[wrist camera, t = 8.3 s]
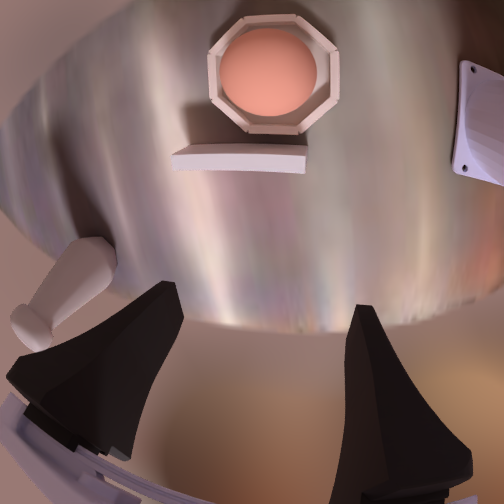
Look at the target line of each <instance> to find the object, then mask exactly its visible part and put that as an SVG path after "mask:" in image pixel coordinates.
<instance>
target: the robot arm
mask: <svg viewBox="0 0 504 504" xmlns="http://www.w3.org/2000/svg"><path fill="white" fill-rule="evenodd" d="M471 66H472V67H473V68H474V73H473V72H472V71H471ZM459 68H460V77H459V105H458V118H457V128H456V137H455V145H454V152H453V158H452V170H453V171H454V172H455V173H457V174H461V175H465V176H469V177H473V178H477V179H481V180H484V181H488V182H492V183H495V184H499V185H502V186H504V76H502V75H500V74H498V73H496V72H493V71H491V70H489V69H487V68H485V67H482V66H480V65H477V64H475V63H472V62H470V61H467V60H463V61H461V62H460V65H459ZM463 165H466V168H465V170H462V167H463ZM183 319H184V315H183V312H182V308H181V304H180V300H179V297H178V293H177V289H176V285H175V282H169V281H161V282H159V283H158V284H156V285H155V286H153V287H152V288H151V289H149V290H148V291H147V292H145V293H144V294H142V295H141V296H140V297H138V298H137V299H136V300H134V301H133V302H131V303H130V304H129V305H127V306H126V307H125V308H123V309H122V310H120V311H119V312H117V313H116V314H114V315H113V316H111V317H110V318H108V319H107V320H105V321H104V322H102V323H101V324H99V325H97V326H96V327H94V328H92V329H90V330H89V331H87V332H85V333H83V334H81V335H79V336H77V337H75V338H73V339H70V340H68V341H66V342H64V343H62V344H60V345H57V346H54V347H51V348H48V349H46V350H43V351H39V352H36V353H32V354H28V355H25V356H20V357H19V358H18V359H17V361H16V362H15V364H14V365H13V366H12V368H11V369H10V370H9V372H8V373H7V375H6V378H7V380H8V381H9V382H10V383H11V384H12V385H13V386H14V387H15V388H16V389H17V390H18V391H19V392H20V393H21V394H22V395H23V396H24V397H25V398H26V399H27V400H28V401H29V402H30V403H29V405H28V406H27V405H25V404H24V403H23V402H22V401H21V400H20V399H18V398H17V397H16V396H15V395H14V394H13V393H11V392H10V393H9V394H8V396H7V398H6V399H5V401H4V402H3V404H2V405H1V407H0V442H1V443H2V445H3V446H4V447H5V448H6V450H7V451H8V452H9V453H10V455H11V456H12V457H13V459H14V460H15V461H16V463H17V464H18V465H19V467H20V468H21V469H22V470H23V471H24V472H25V474H26V475H27V476H28V477H29V479H30V480H31V481H32V482H33V483H34V484H35V485H36V486H37V487H38V489H39V490H40V491H41V492H42V493H43V494H44V495H45V496H46V497H47V498H48V499H49V500H50V501H51V502H52V503H53V504H140V503H141V501H142V500H141V499H140V498H139V497H137V496H135V495H133V494H131V493H129V492H127V491H125V490H123V489H120V488H118V487H116V486H114V485H112V484H110V483H108V482H106V481H105V479H104V476H103V475H105V476H106V477H108V478H110V479H112V480H114V481H116V482H118V483H120V484H122V485H124V486H126V487H128V488H130V489H132V490H134V491H136V492H138V493H140V494H143V495H145V496H147V497H149V498H152V499H154V500H157V501H159V502H162V503H165V504H215V503H211V502H208V501H204V500H201V499H197V498H194V497H191V496H188V495H184V494H182V493H179V492H176V491H173V490H170V489H168V488H165V487H162V486H160V485H157V484H155V483H152V482H150V481H148V480H145V479H143V478H141V477H138V476H136V475H134V474H132V473H130V472H128V471H126V470H124V469H122V468H119V467H117V466H115V465H114V464H112V463H110V462H108V461H106V460H104V459H102V458H101V457H99V456H98V454H99V453H101V454H103V455H105V456H107V455H108V454H110V455H112V456H114V457H116V458H118V459H120V460H122V461H128V460H130V459H131V454H132V449H133V444H134V440H135V435H136V431H137V428H138V424H139V420H140V417H141V414H142V411H143V408H144V405H145V402H146V399H147V397H148V394H149V391H150V389H151V386H152V384H153V382H154V379H155V377H156V375H157V374H158V372H159V370H160V368H161V366H162V364H163V362H164V360H165V359H166V357H167V355H168V353H169V351H170V349H171V347H172V345H173V343H174V342H175V340H176V338H177V335H178V333H179V330H180V327H181V324H182V322H183ZM344 367H345V426H344V434H343V441H342V447H341V453H340V459H339V464H338V469H337V474H336V478H335V483H334V487H333V490H332V494H331V498H330V502H329V504H444V501H445V498H448V496H449V488H452V487H454V486H456V485H459V484H461V483H463V482H465V481H467V480H469V479H470V478H471V477H472V476H473V460H472V453H471V450H470V449H469V448H467V447H466V446H465V445H464V444H463V443H462V442H461V441H460V440H459V439H458V438H457V437H456V436H455V435H454V434H453V433H452V432H451V431H450V430H449V429H448V428H447V427H446V426H445V425H444V423H443V422H442V421H441V420H440V419H439V417H438V416H437V415H436V414H435V412H434V411H433V410H432V409H431V408H430V406H429V405H428V404H427V402H426V401H425V400H424V398H423V397H422V395H421V394H420V393H419V391H418V390H417V388H416V387H415V385H414V384H413V382H412V381H411V379H410V377H409V376H408V374H407V372H406V371H405V369H404V367H403V366H402V364H401V362H400V360H399V358H398V357H397V355H396V353H395V351H394V349H393V347H392V345H391V343H390V341H389V340H388V338H387V336H386V333H385V331H384V329H383V327H382V325H381V323H380V321H379V319H378V317H377V314H376V312H375V310H374V308H373V307H372V306H370V305H358V304H356V308H355V311H354V315H353V318H352V321H351V325H350V328H349V331H348V335H347V338H346V346H345V361H344ZM447 504H477V495H473V496H471V497H467V498H464V499H461V500H458V501H454V502H451V503H447Z"/></svg>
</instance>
